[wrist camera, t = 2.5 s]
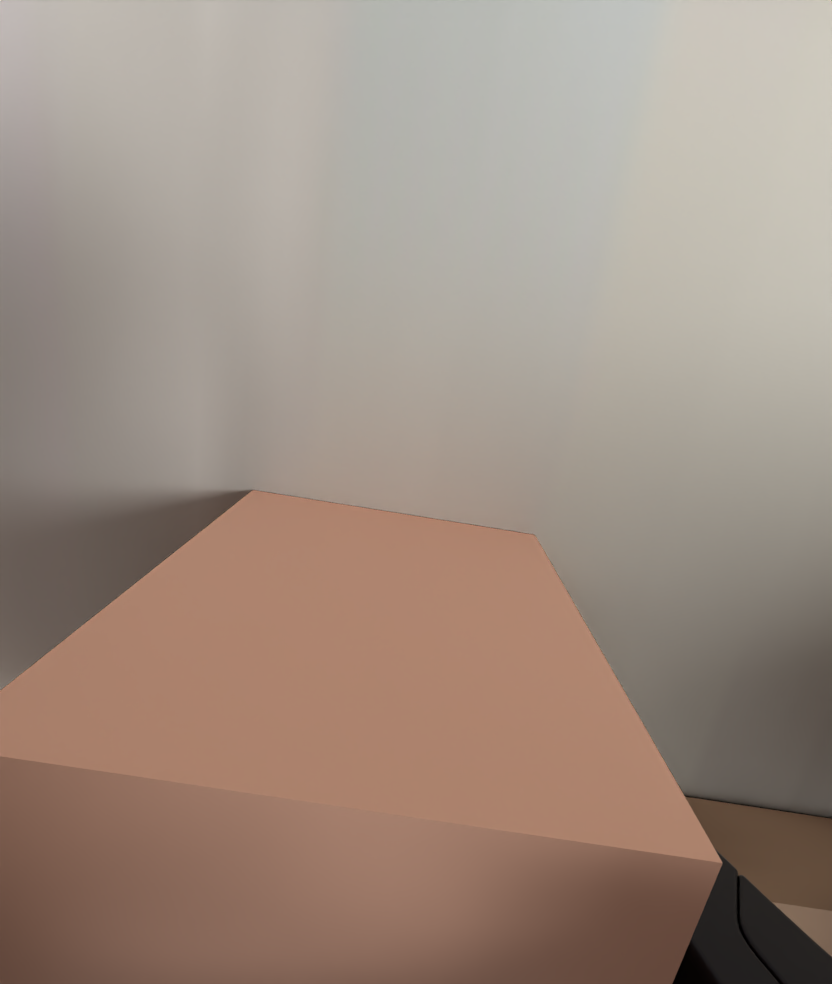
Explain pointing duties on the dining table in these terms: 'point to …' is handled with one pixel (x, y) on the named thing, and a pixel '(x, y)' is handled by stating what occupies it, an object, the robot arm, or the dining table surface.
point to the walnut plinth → (778, 858)
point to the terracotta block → (340, 772)
